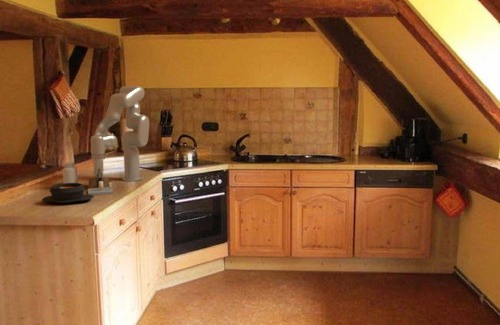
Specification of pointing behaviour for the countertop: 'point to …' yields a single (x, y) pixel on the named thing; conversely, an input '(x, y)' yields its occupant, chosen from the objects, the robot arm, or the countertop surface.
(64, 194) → the black low round piece
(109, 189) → the base
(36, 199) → the countertop surface
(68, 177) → the pill bottle
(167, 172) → the countertop surface
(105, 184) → the wooden h-shaped stand
